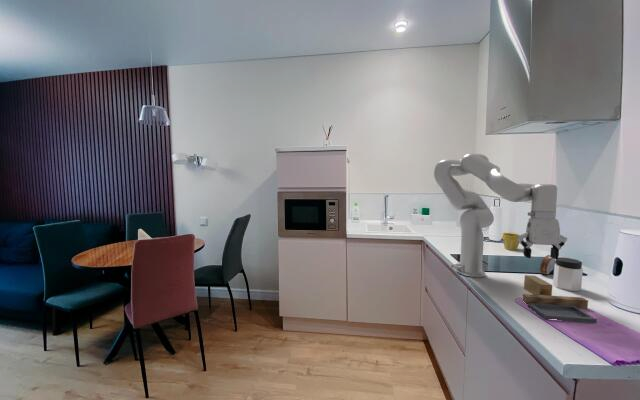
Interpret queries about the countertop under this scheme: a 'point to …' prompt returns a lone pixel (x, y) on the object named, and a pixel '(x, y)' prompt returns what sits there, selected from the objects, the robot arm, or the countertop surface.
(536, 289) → the bar
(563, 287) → the jar
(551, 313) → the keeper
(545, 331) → the countertop surface
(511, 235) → the plant pot
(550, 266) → the tin
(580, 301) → the door edge strip
